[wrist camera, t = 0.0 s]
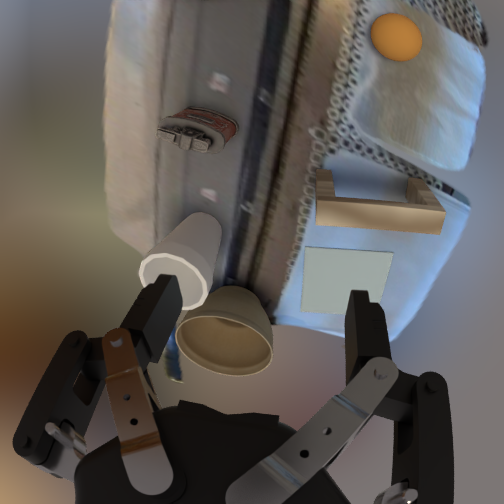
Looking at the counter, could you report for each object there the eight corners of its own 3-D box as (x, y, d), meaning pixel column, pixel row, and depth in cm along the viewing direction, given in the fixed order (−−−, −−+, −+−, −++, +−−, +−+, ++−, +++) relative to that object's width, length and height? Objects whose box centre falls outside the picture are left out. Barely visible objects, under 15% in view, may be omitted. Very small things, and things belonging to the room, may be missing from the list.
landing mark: (305, 246, 47) (305, 247, 47) (393, 252, 44) (393, 253, 44) (300, 310, 55) (300, 311, 55) (375, 315, 52) (375, 315, 52)
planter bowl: (233, 340, 63) (221, 383, 55) (178, 291, 58) (157, 334, 49) (297, 315, 56) (292, 363, 47) (240, 254, 50) (224, 302, 41)
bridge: (316, 169, 39) (317, 200, 32) (421, 178, 37) (446, 212, 29) (315, 189, 41) (315, 224, 33) (418, 198, 39) (439, 234, 31)
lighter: (242, 119, 37) (221, 138, 29) (234, 142, 39) (212, 167, 31) (185, 102, 37) (150, 116, 29) (179, 124, 39) (145, 145, 31)
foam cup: (185, 192, 45) (147, 240, 35) (241, 220, 46) (218, 275, 36) (168, 238, 51) (134, 289, 40) (218, 262, 52) (194, 319, 41)
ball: (365, 13, 26) (375, 5, 21) (412, 21, 25) (429, 16, 20) (366, 57, 29) (376, 56, 25) (412, 64, 28) (429, 66, 24)
